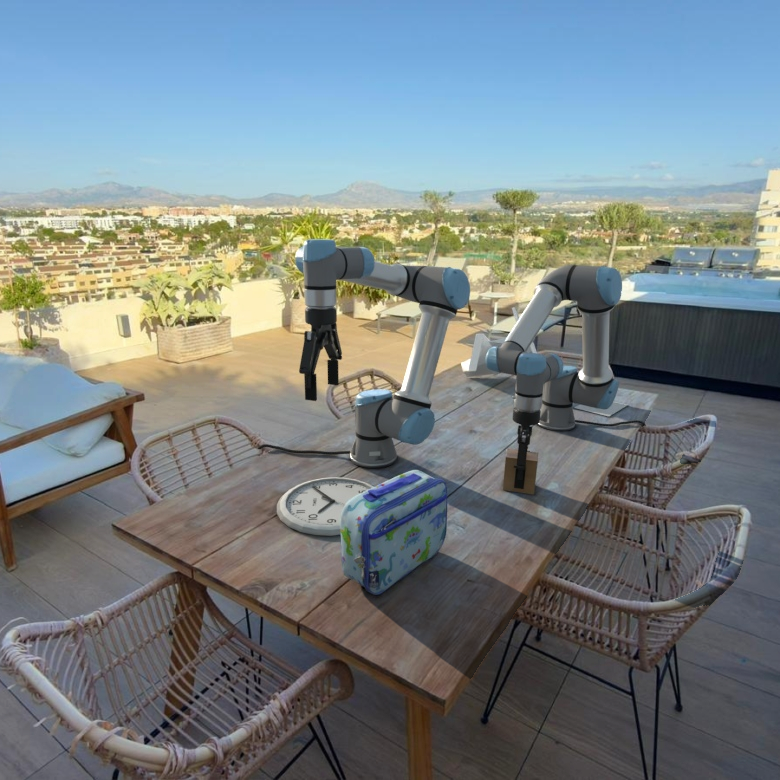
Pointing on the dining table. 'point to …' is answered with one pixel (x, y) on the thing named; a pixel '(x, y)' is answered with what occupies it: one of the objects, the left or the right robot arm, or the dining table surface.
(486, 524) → the dining table surface
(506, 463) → the wooden block
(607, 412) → the invitation card
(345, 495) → the wall clock
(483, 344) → the white plastic object
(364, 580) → the lunch box
